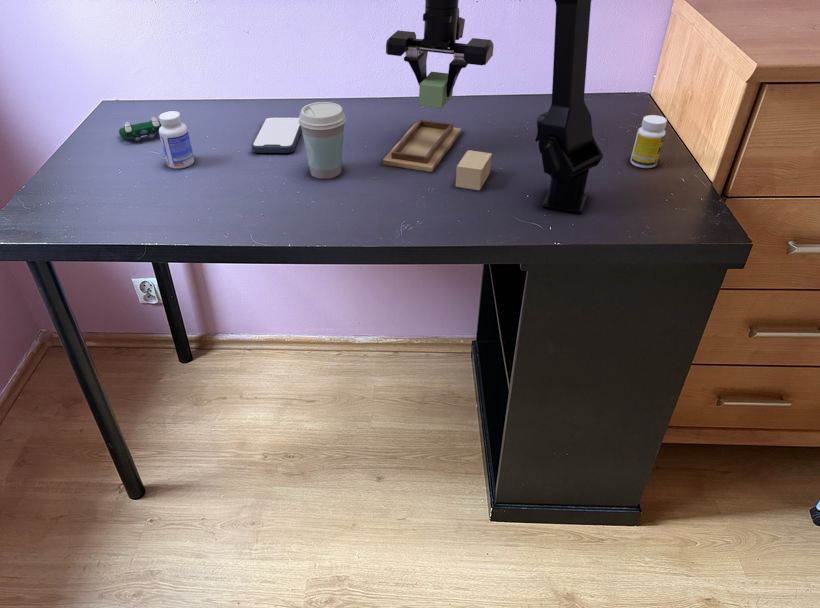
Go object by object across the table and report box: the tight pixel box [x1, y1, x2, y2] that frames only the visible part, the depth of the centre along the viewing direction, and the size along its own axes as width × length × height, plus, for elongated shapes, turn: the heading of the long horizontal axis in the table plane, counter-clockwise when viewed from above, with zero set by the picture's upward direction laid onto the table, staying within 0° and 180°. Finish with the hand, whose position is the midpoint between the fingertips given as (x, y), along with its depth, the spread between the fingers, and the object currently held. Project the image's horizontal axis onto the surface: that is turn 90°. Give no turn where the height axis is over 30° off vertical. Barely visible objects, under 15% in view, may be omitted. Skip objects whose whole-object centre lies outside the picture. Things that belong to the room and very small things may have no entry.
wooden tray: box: [382, 119, 462, 173], centre depth 131 cm, size 19×10×2 cm, turn 157°
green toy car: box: [118, 116, 162, 142], centre depth 139 cm, size 9×4×6 cm
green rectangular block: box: [418, 71, 454, 110], centre depth 124 cm, size 7×4×4 cm, turn 157°
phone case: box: [251, 116, 302, 154], centre depth 137 cm, size 9×2×16 cm
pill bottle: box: [158, 110, 195, 170], centre depth 127 cm, size 5×5×10 cm
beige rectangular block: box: [455, 149, 493, 191], centre depth 119 cm, size 7×4×4 cm, turn 157°
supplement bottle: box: [629, 114, 668, 169], centre depth 121 cm, size 5×5×8 cm
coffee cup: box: [298, 101, 347, 180], centre depth 121 cm, size 9×8×12 cm
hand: (436, 94), depth 125 cm, fingers closed on green rectangular block, 4 cm apart
